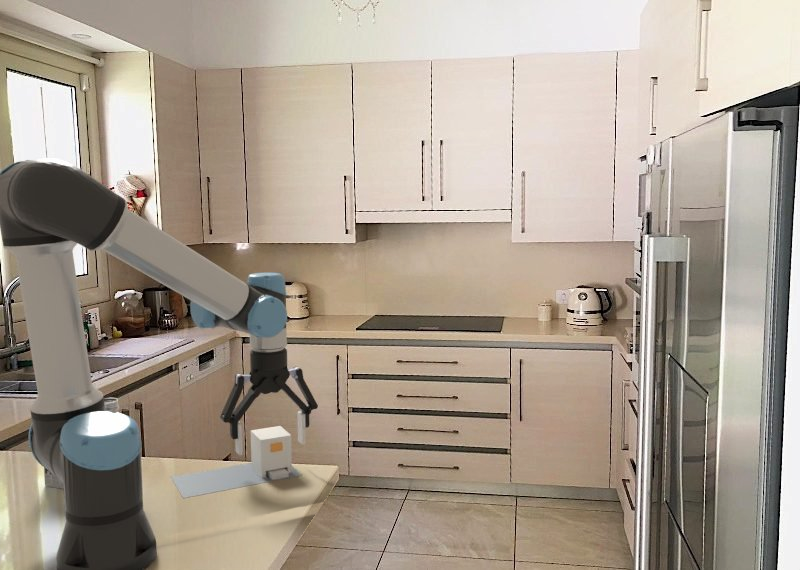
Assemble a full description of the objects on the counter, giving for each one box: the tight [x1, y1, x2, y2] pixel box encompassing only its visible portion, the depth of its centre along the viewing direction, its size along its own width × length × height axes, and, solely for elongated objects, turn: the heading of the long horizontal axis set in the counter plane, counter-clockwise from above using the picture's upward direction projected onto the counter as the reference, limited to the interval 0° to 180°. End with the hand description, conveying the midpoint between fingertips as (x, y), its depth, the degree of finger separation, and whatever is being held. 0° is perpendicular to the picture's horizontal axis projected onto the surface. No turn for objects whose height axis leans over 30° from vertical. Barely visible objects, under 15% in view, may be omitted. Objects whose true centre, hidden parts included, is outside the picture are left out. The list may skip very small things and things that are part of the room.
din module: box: [250, 425, 293, 478], centre depth 156 cm, size 7×6×8 cm
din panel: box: [170, 462, 303, 499], centre depth 153 cm, size 12×24×2 cm, turn 118°
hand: (271, 448), depth 156 cm, fingers open, 13 cm apart
